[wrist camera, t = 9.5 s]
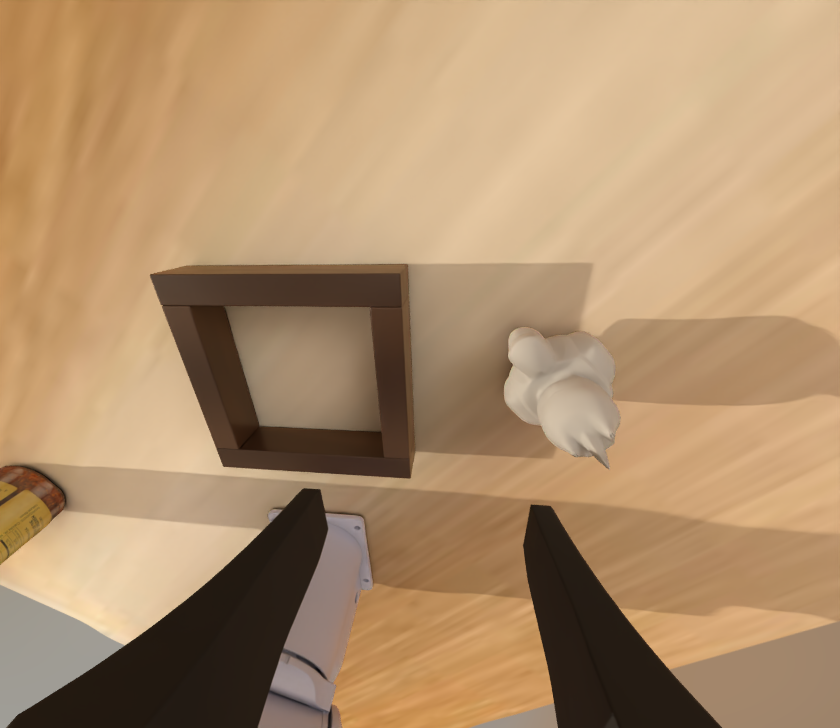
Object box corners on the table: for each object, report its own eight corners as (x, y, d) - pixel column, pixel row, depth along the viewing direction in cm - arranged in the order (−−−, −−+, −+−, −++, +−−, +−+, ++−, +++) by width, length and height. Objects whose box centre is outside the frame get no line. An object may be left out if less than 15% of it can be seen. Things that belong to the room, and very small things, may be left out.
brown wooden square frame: (415, 451, 23) (410, 479, 21) (244, 442, 24) (222, 467, 22) (407, 264, 17) (400, 273, 15) (185, 265, 18) (148, 274, 16)
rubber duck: (538, 419, 21) (580, 535, 13) (469, 347, 19) (474, 436, 12) (619, 368, 18) (720, 473, 11) (549, 283, 17) (615, 343, 10)
